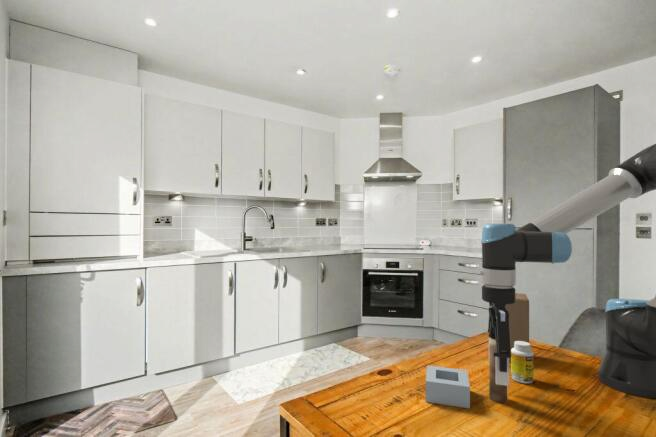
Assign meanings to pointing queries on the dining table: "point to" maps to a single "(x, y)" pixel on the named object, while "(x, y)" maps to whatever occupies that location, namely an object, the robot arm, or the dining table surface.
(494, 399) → the peg
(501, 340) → the robot arm
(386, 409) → the dining table surface
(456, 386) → the socket block
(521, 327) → the wooden block
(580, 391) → the dining table surface
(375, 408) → the dining table surface
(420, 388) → the dining table surface
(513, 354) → the supplement bottle
